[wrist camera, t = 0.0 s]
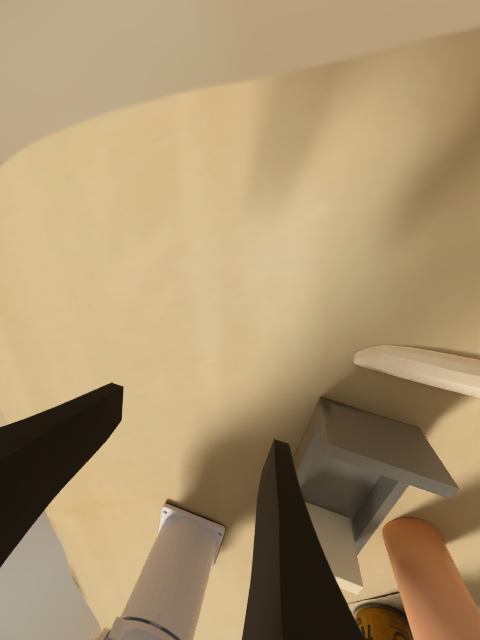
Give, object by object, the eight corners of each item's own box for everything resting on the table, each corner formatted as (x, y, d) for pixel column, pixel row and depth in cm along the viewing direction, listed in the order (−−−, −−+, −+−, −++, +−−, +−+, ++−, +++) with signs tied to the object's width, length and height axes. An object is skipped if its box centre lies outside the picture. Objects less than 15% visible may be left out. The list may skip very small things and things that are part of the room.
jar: (424, 559, 24) (490, 721, 16) (373, 540, 24) (412, 687, 16) (451, 530, 22) (541, 697, 14) (396, 510, 23) (452, 659, 15)
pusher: (344, 525, 24) (360, 612, 18) (287, 503, 24) (286, 582, 19) (349, 517, 23) (367, 605, 18) (291, 496, 24) (291, 574, 18)
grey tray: (332, 556, 26) (341, 625, 22) (262, 529, 27) (256, 588, 23) (419, 428, 19) (459, 488, 15) (320, 396, 20) (328, 444, 16)
